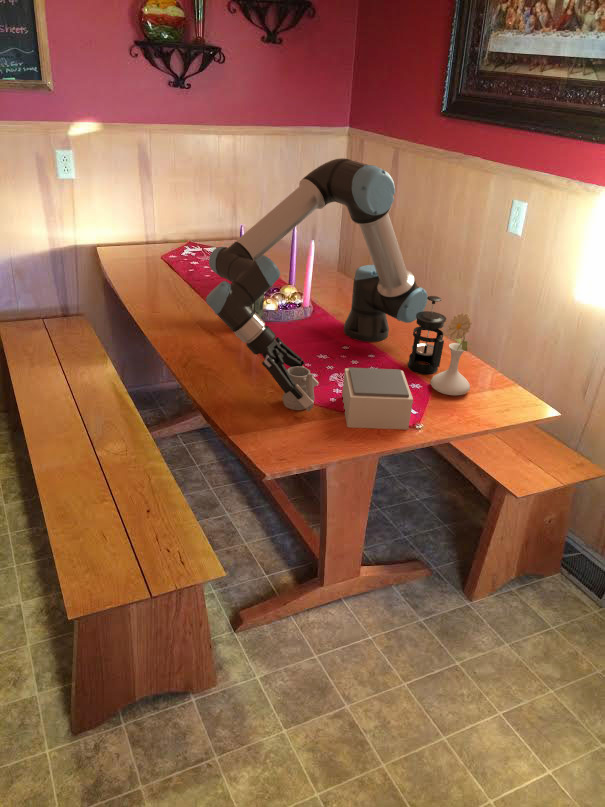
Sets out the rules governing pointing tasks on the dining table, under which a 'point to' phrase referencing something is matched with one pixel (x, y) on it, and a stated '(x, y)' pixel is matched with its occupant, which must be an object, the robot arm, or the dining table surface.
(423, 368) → the french press
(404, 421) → the stand
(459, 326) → the flower in vase
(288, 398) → the mug
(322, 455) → the dining table surface
